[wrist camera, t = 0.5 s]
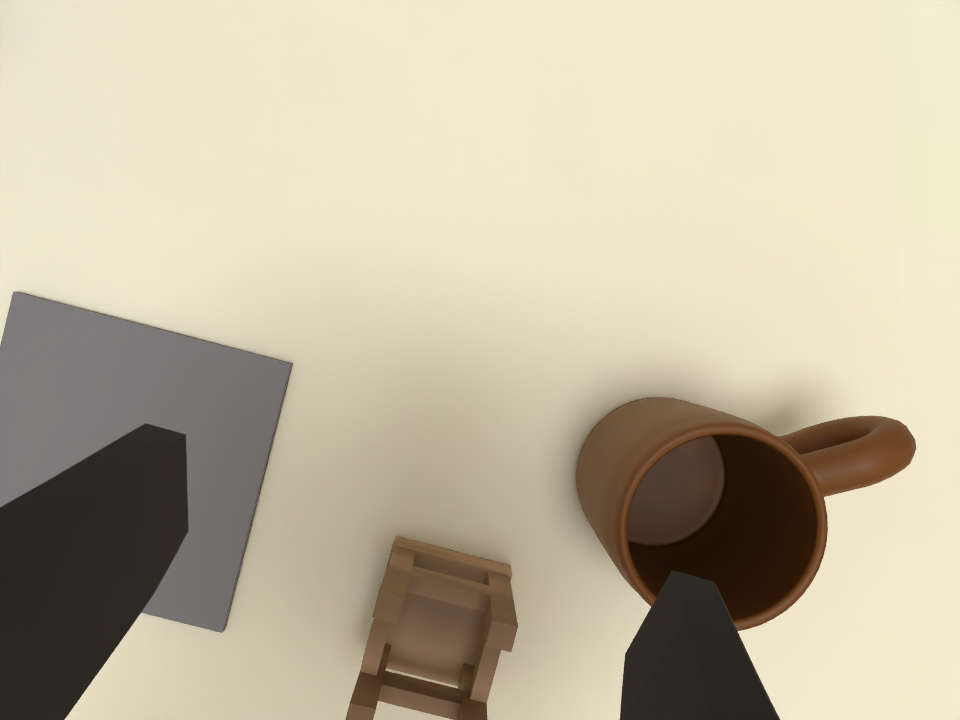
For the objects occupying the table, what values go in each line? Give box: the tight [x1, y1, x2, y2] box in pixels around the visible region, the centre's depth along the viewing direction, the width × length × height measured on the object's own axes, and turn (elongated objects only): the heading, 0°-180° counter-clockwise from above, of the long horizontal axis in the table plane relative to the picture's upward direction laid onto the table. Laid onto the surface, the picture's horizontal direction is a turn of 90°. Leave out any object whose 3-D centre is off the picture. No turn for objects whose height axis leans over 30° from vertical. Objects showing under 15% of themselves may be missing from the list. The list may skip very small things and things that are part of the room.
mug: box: [577, 398, 916, 631], centre depth 29 cm, size 12×8×9 cm, turn 112°
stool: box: [346, 536, 518, 720], centre depth 30 cm, size 6×6×7 cm
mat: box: [0, 292, 293, 633], centre depth 33 cm, size 13×13×1 cm
